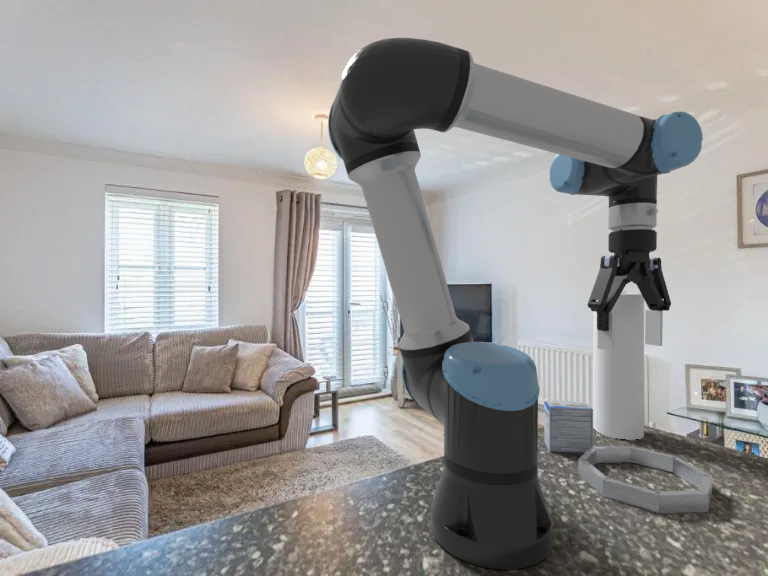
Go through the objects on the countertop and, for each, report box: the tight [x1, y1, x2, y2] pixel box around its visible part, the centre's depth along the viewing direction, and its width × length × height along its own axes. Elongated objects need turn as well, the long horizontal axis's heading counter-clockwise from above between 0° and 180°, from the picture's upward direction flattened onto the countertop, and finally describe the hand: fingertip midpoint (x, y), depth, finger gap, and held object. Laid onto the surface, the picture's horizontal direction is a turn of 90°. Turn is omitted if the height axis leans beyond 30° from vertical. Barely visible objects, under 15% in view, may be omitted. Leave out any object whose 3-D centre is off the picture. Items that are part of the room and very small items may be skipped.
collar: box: [577, 445, 713, 514], centre depth 66 cm, size 17×17×2 cm
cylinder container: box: [592, 291, 645, 441], centre depth 88 cm, size 9×9×30 cm
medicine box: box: [543, 400, 594, 454], centre depth 79 cm, size 8×4×9 cm, turn 82°
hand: (630, 347), depth 75 cm, fingers open, 13 cm apart
